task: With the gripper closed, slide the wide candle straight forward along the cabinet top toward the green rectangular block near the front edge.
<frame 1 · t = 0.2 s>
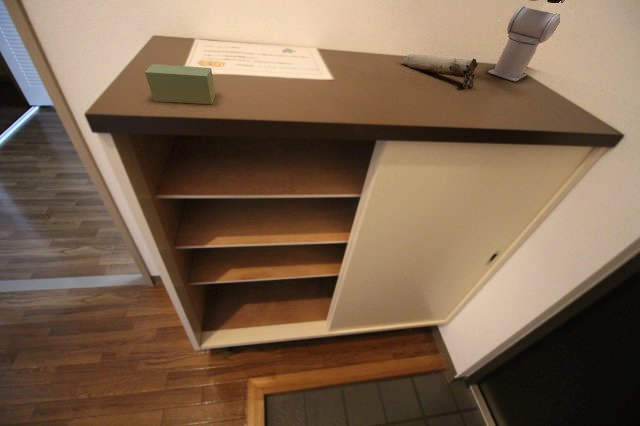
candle: (434, 77, 75), on the table
green rectangular block: (186, 98, 53), on the table
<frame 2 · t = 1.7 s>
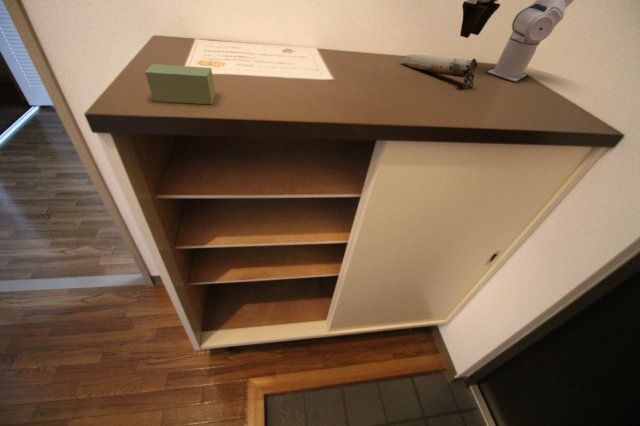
hand: (469, 35, 76), 8 cm above the table, tool pointing down, fingers open, 6 cm apart
nothing on the table moved.
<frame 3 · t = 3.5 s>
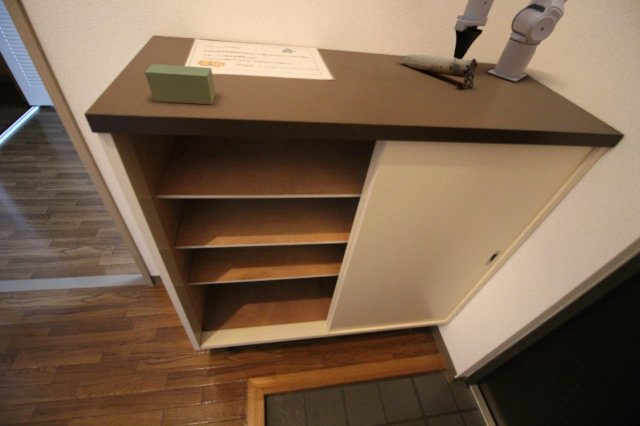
hand: (457, 58, 79), 3 cm above the table, tool pointing down, fingers closed
nothing on the table moved.
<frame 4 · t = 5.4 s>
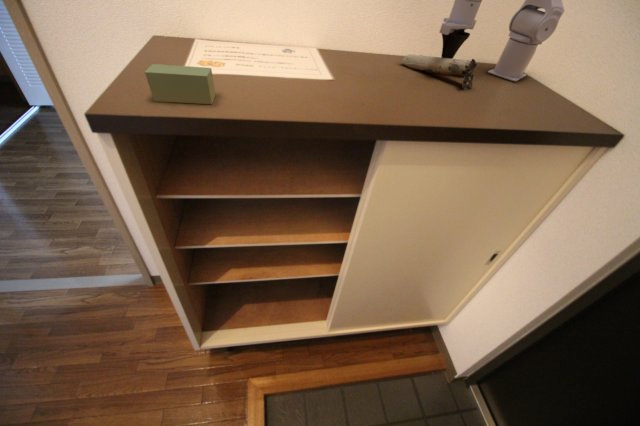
hand: (444, 62, 75), 3 cm above the table, tool pointing down, fingers closed
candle: (433, 77, 75), on the table, touching gripper
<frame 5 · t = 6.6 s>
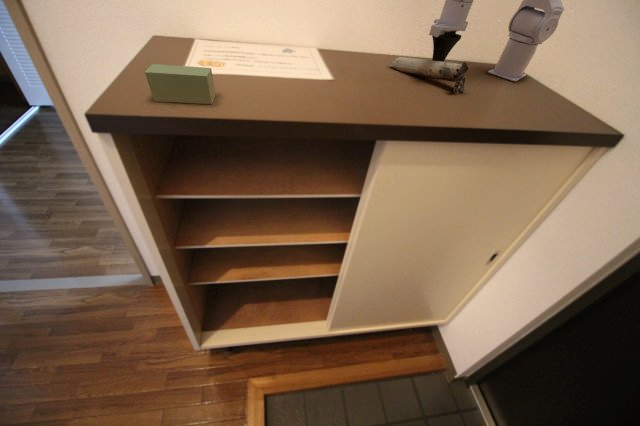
hand: (436, 65, 72), 3 cm above the table, tool pointing down, fingers closed
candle: (423, 81, 72), on the table, touching gripper
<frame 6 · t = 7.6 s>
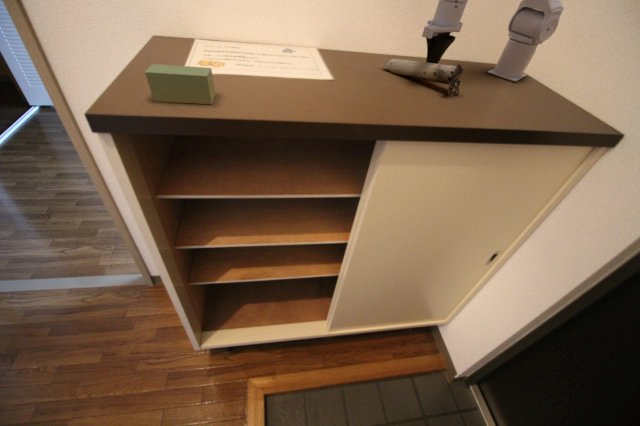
hand: (430, 67, 70), 3 cm above the table, tool pointing down, fingers closed
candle: (417, 83, 70), on the table, touching gripper
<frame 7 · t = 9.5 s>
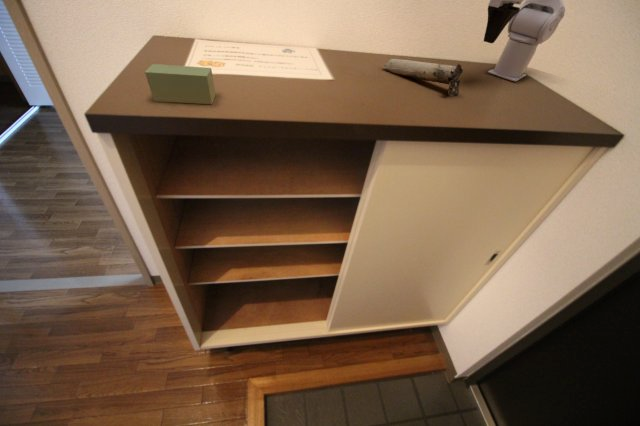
hand: (488, 42, 68), 9 cm above the table, tool pointing down, fingers closed
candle: (417, 83, 70), on the table
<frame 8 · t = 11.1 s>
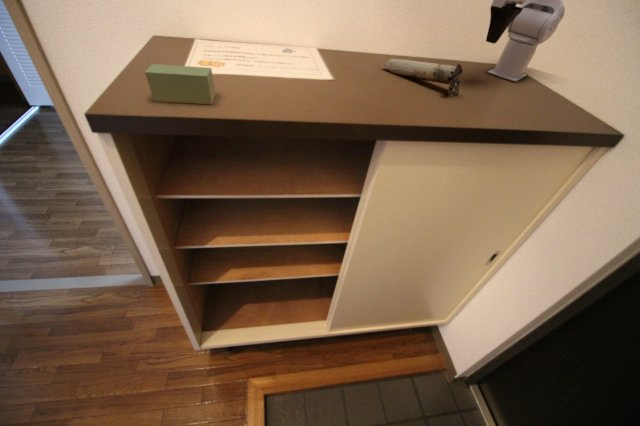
hand: (490, 42, 68), 9 cm above the table, tool pointing down, fingers closed
nothing on the table moved.
at the end: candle moved 8.5 cm from its start; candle 53.5 cm from the green rectangular block (horizontally); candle on the table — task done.
